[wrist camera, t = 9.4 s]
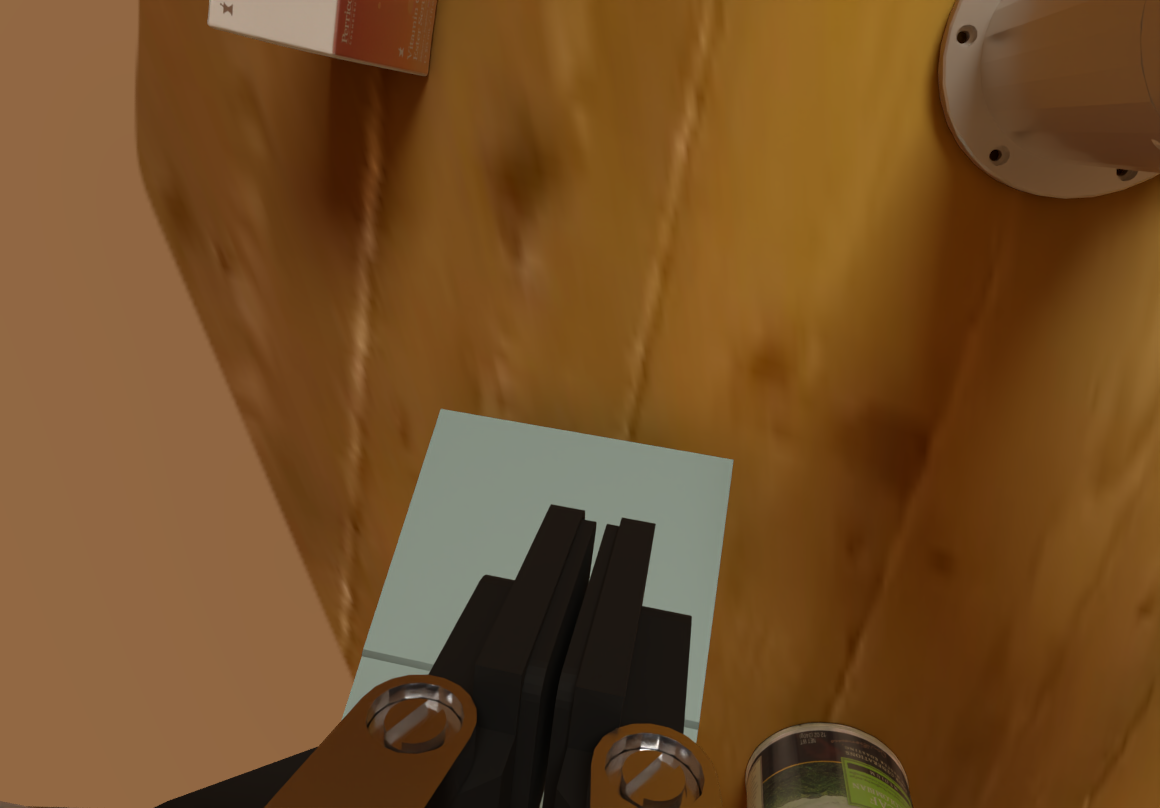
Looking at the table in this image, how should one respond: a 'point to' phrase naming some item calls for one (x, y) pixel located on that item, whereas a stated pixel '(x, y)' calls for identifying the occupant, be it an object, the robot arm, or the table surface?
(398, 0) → the small box
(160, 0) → the table surface
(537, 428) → the flap
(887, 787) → the coffee can
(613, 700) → the robot arm
